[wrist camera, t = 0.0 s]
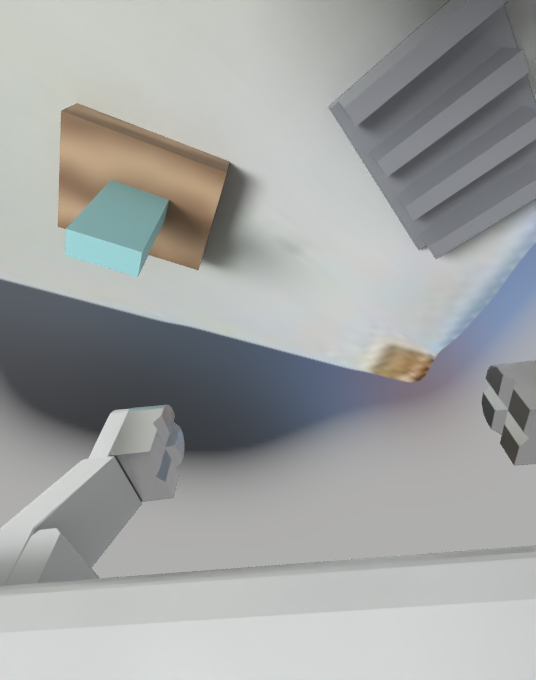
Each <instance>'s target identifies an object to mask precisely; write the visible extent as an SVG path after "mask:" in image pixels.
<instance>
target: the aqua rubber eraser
mask: <svg viewBox="0 0 536 680" xmlns="http://www.w3.org/2000/svg"><path fill="white" fill-rule="evenodd" d="M168 202H169V200H168V199H166V198H163V197H160V196H157V195H154V194H151V193H148V192H145V191H142V190H140V189H137V188H134V187H131V186H128V185H125V184H122V183H119V182H117V181H114V180H110V181H109V183H108V184H107V185H106V186H105V187H104V188H103V189H102V190H101V191H100V192H99V193H98V194H97V196H96V197H95V198H94V199H93V200H92V201H91V202H90V203H89V204H88V205H87V206H86V207H85V209H84V210H83V211H82V212H81V213H80V214H79V215H78V216H77V217H76V218H75V219H74V220H73V222H72V223H71V224H70V225H69V226H68V227H67V228H66V238H65V256H68V257H72V258H75V259H79V260H82V261H85V262H89V263H92V264H95V265H99V266H102V267H106V268H109V269H112V270H116V271H119V272H122V273H126V274H129V275H133V276H136V277H138V275H139V273H140V271H141V269H142V267H143V265H144V263H145V261H146V259H147V257H148V255H149V252H150V250H151V248H152V246H153V244H154V242H155V240H156V238H157V236H158V234H159V232H160V229H161V227H162V225H163V223H164V221H165V217H166V212H167V207H168Z"/></svg>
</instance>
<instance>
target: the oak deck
mask: <svg viewBox="0 0 536 680" xmlns="http://www.w3.org/2000/svg"><path fill="white" fill-rule="evenodd" d="M228 166H229V162H228V161H226V160H223V159H221V158H218V157H215V156H213V155H210V154H208V153H205V152H202V151H200V150H197V149H195V148H192V147H189V146H187V145H184V144H182V143H179V142H176V141H174V140H171V139H169V138H166V137H163V136H161V135H158V134H156V133H153V132H150V131H148V130H145V129H143V128H140V127H137V126H135V125H132V124H130V123H127V122H124V121H122V120H119V119H117V118H114V117H111V116H109V115H106V114H104V113H101V112H98V111H96V110H93V109H90V108H88V107H85V106H83V105H80V104H75V105H73V106H70V107H68V108H66V109H64V110H62V111H61V137H60V171H59V206H58V227H61V228H64V229H66V228H67V227H68V226H69V225H70V224H71V223H72V222H73V220H74V219H75V218H76V217H77V216H78V215H79V214H80V213H81V212H82V211H83V210H84V209H85V207H86V206H87V205H88V204H89V203H90V202H91V201H92V200H93V199H94V198H95V197H96V196H97V194H98V193H99V192H100V191H101V190H102V189H103V188H104V187H105V186H106V185H107V184H108V183H109V181H110V180H114V181H117V182H119V183H122V184H125V185H128V186H131V187H134V188H137V189H140V190H142V191H145V192H148V193H151V194H154V195H157V196H160V197H163V198H166V199H168V200H169V202H168V207H167V212H166V217H165V221H164V223H163V225H162V227H161V229H160V232H159V234H158V236H157V238H156V240H155V242H154V244H153V246H152V248H151V250H150V252H149V255H151V256H154V257H158V258H161V259H164V260H167V261H170V262H174V263H177V264H180V265H183V266H186V267H190V268H193V269H196V270H199V266H200V263H201V260H202V256H203V253H204V249H205V246H206V243H207V239H208V236H209V232H210V229H211V225H212V222H213V219H214V215H215V212H216V208H217V205H218V202H219V198H220V195H221V191H222V188H223V185H224V181H225V178H226V174H227V170H228Z"/></svg>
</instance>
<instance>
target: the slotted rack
mask: <svg viewBox="0 0 536 680" xmlns="http://www.w3.org/2000/svg"><path fill="white" fill-rule="evenodd" d="M506 2H507V0H449V1H448V2H447V3H446V4H445V5H443V6H442V7H441V8H440V9H439V10H438V11H437V12H436V13H434V14H433V15H432V16H431V17H430V18H429V19H428V20H426V21H425V22H424V23H423V24H422V25H421V26H420V27H418V28H417V29H416V30H415V31H414V32H413V33H412V34H411V35H409V36H408V37H407V38H406V39H405V40H404V41H403V42H401V43H400V44H399V45H398V46H397V47H396V48H395V49H394V50H392V51H391V52H390V53H389V54H388V55H387V56H386V57H384V58H383V59H382V60H381V61H380V62H379V63H378V64H376V65H375V66H374V67H373V68H372V69H371V70H370V71H369V72H367V73H366V74H365V75H364V76H363V77H362V78H361V79H359V80H358V81H357V82H356V83H355V84H354V85H353V86H351V87H350V88H349V89H348V90H347V91H346V92H345V93H344V94H342V95H341V96H340V97H339V98H338V99H337V100H336V101H334V102H333V103H332V104H331V105H330V106H329V108H330V110H331V112H332V113H333V115H334V116H335V118H336V120H337V121H338V123H339V124H340V126H341V127H342V129H343V131H344V132H345V134H346V135H347V137H348V139H349V140H350V142H351V143H352V145H353V147H354V148H355V150H356V151H357V153H358V154H359V156H360V158H361V159H362V161H363V162H364V164H365V166H366V167H367V169H368V170H369V172H370V174H371V175H372V177H373V178H374V180H375V181H376V183H377V185H378V186H379V188H380V189H381V191H382V193H383V194H384V196H385V197H386V199H387V201H388V202H389V204H390V205H391V207H392V208H393V210H394V212H395V213H396V215H397V216H398V218H399V220H400V221H401V223H402V224H403V226H404V228H405V229H406V231H407V232H408V234H409V236H410V237H411V239H412V240H413V242H414V243H415V245H416V247H417V248H418V250H420V249H422V248H423V247H425V246H427V247H428V249H429V250H430V251H431V253H432V254H433V256H434V257H435V258H436V259H437V258H439V257H440V256H442V255H444V254H445V253H447V252H449V251H450V250H452V249H454V248H455V247H457V246H459V245H460V244H462V243H463V242H465V241H467V240H468V239H470V238H472V237H473V236H475V235H477V234H478V233H480V232H481V231H483V230H485V229H486V228H488V227H490V226H491V225H493V224H495V223H496V222H498V221H500V220H501V219H503V218H504V217H506V216H508V215H509V214H511V213H513V212H514V211H516V210H518V209H519V208H521V207H522V206H524V205H526V204H527V203H529V202H531V201H532V200H534V199H536V102H535V99H534V96H533V93H532V90H531V87H530V84H529V81H528V78H527V75H526V74H527V73H529V72H530V70H529V67H528V64H527V61H526V58H525V55H524V52H523V50H522V49H518V47H517V44H516V41H515V38H514V35H513V32H512V29H511V26H510V23H509V20H508V17H507V14H506V11H505V8H504V4H505V3H506Z"/></svg>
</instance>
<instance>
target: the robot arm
mask: <svg viewBox="0 0 536 680" xmlns="http://www.w3.org/2000/svg"><path fill="white" fill-rule="evenodd" d="M486 380H487V381H488V383H489V384H490V386H489V387H488V388H487V389H486V390H485V391H484V392H483V396H482V408H483V413H484V416H485V419H486V421H487V423H488V425H489V426H490V428H491V429H492V430H494V431H496V432H498V433H499V434H501V435H502V436H501V441H500V444H501V446H502V447H503V449H504V450H505V452H506V453H507V455H508V457H509V458H510V460H511V461H512V463H513V465H528V464H536V360H534V361H525V362H517V363H509V364H501V365H494V366H490V367H489V369H488V370H487V375H486ZM174 416H175V414H174V412H173V410H172V408H171V406H169V405H160V406H150V407H139V408H132V409H123V410H114V411H113V412H112V413H110V415H109V417H108V419H107V421H106V424H105V425H104V427H103V429H102V431H101V434H100V436H99V438H98V440H97V442H96V444H95V446H94V448H93V450H92V452H91V454H90V456H89V458H88V459H84V460H82V461H80V462H79V463H78V464H77V465H76V466H74V467H73V468H72V469H71V470H70V471H68V472H67V473H66V474H65V475H64V476H63V477H61V478H60V479H59V480H58V481H56V482H55V483H54V484H53V485H52V486H51V487H50V488H48V489H47V490H46V491H44V492H43V493H42V494H41V495H40V496H38V497H37V498H36V499H35V500H34V501H33V502H31V503H30V504H29V505H28V506H26V507H25V508H24V509H23V510H22V511H21V512H19V513H18V514H17V515H16V516H14V517H13V518H12V519H11V520H10V521H9V522H7V523H6V524H5V525H4V526H3V527H1V528H0V680H536V545H535V546H521V547H508V548H495V549H481V550H468V551H455V552H443V553H429V554H416V555H403V556H389V557H376V558H364V559H351V560H337V561H324V562H311V563H298V564H285V565H271V566H260V567H245V568H232V569H220V570H219V569H218V570H205V571H192V572H179V573H165V574H152V575H140V576H126V577H113V578H99V577H98V575H97V574H96V573H95V572H94V571H93V570H92V567H93V565H94V564H95V563H96V561H97V560H98V559H99V557H100V556H101V555H102V554H103V553H104V551H105V550H106V549H107V548H108V546H109V545H110V544H111V543H112V541H113V540H114V539H115V537H116V536H117V535H118V534H119V532H120V531H121V530H122V529H123V527H124V526H125V525H126V524H127V522H128V521H129V520H130V518H131V517H132V516H133V515H134V513H135V512H136V511H137V510H138V508H139V507H140V506H141V505H142V502H145V501H153V500H161V499H170V498H174V494H175V490H176V485H177V481H178V477H179V475H178V473H177V471H176V467H177V466H178V465H179V464H180V463H181V462H182V459H183V455H184V438H183V434H182V431H181V428H180V427H179V426H178V425H176V424H175V423H173V420H174Z"/></svg>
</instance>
